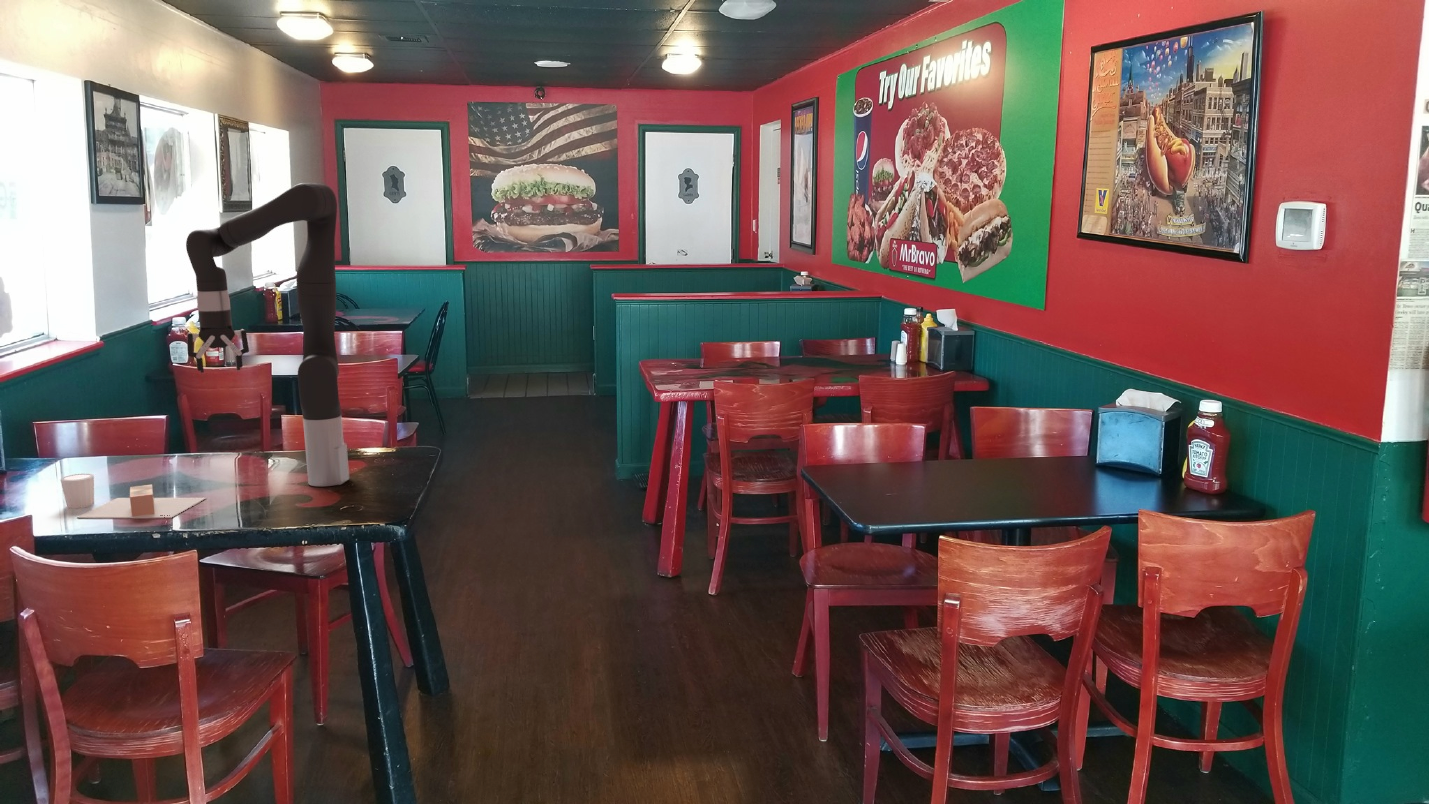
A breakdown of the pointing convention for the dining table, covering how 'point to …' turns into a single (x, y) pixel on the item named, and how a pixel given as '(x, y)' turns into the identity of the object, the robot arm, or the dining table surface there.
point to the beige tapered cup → (78, 490)
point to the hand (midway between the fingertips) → (220, 371)
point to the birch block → (142, 500)
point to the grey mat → (123, 510)
